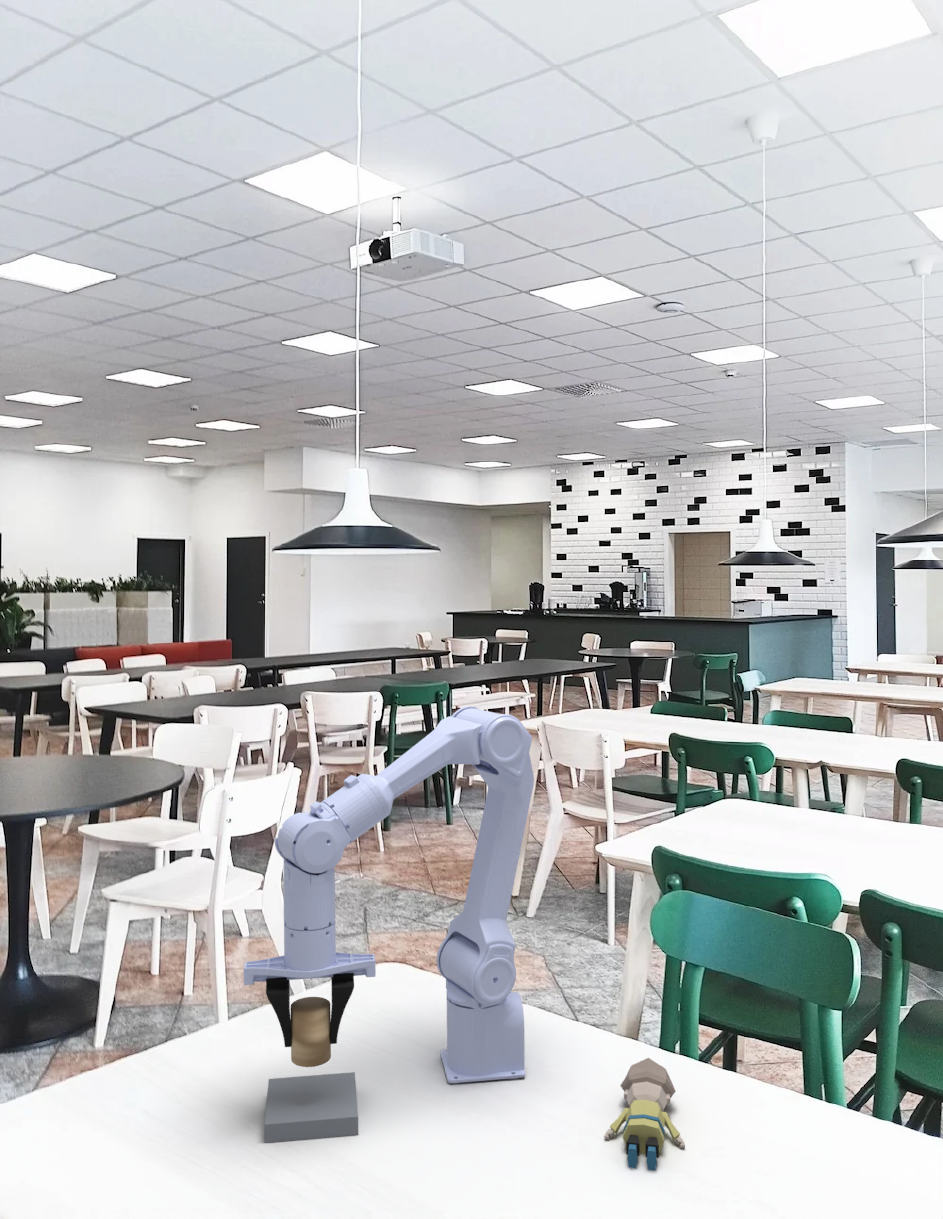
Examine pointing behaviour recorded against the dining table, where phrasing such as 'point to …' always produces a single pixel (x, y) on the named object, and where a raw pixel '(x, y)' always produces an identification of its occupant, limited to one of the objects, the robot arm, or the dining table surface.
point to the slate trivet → (311, 1107)
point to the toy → (645, 1113)
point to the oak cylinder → (310, 1031)
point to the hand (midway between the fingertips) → (311, 1041)
